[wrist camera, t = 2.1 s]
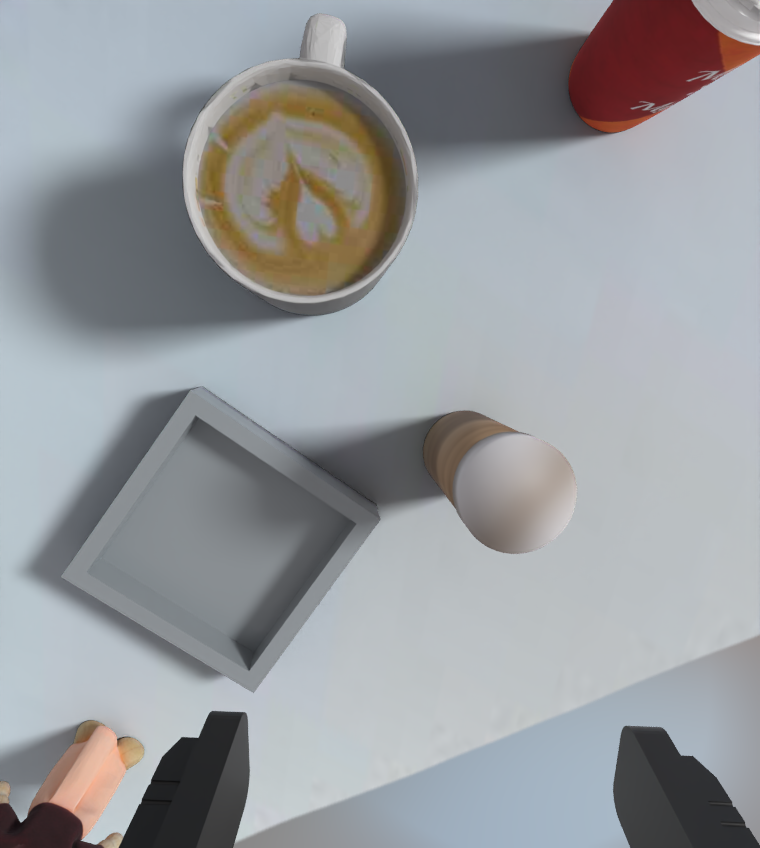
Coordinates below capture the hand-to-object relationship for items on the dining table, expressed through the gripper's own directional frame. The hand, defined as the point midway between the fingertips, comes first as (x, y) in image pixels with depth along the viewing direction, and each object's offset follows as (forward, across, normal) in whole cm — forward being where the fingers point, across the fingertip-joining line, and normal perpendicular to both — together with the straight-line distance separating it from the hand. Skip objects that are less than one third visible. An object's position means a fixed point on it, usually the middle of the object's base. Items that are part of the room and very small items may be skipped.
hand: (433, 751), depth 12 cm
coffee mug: (+26, -6, +14) cm, 30 cm away
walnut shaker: (+25, +4, -1) cm, 25 cm away
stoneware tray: (+23, -11, -6) cm, 26 cm away
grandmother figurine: (+21, -19, -20) cm, 35 cm away
